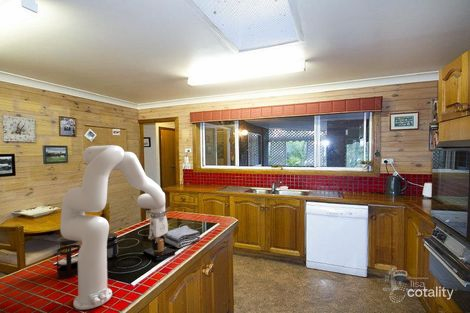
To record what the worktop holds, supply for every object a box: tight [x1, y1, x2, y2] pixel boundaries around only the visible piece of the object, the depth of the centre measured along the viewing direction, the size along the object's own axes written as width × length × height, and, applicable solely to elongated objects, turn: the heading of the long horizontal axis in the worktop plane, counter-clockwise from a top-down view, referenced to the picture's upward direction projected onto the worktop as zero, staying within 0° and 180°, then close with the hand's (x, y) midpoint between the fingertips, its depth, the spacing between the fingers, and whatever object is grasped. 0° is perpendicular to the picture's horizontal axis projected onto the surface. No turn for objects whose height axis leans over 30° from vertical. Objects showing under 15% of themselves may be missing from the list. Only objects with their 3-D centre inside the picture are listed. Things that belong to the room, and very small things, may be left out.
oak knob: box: [154, 237, 164, 252], centre depth 131 cm, size 5×5×6 cm
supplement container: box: [107, 232, 119, 262], centre depth 128 cm, size 10×10×12 cm
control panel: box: [142, 245, 176, 263], centre depth 131 cm, size 14×11×3 cm
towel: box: [165, 225, 201, 249], centre depth 150 cm, size 15×18×8 cm
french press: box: [56, 236, 82, 280], centre depth 111 cm, size 12×9×23 cm
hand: (158, 247), depth 131 cm, fingers closed on oak knob, 5 cm apart
